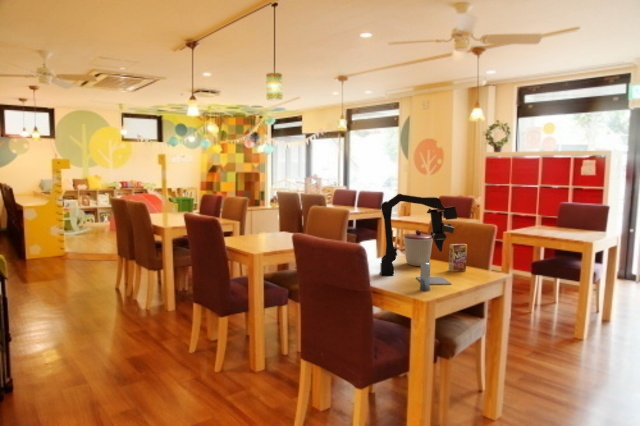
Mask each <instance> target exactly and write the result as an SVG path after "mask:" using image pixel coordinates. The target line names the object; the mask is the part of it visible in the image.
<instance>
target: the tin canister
mask: <svg viewBox="0 0 640 426" xmlns="http://www.w3.org/2000/svg"><path fill="white" fill-rule="evenodd" d="M419 277H420V281H419V290H420V291H421V292H429V291H430V290H431V289H430V288H431V287H430V286H431V285H430V277H431V262H430V261H429V262H421V266H420V276H419Z"/></svg>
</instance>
